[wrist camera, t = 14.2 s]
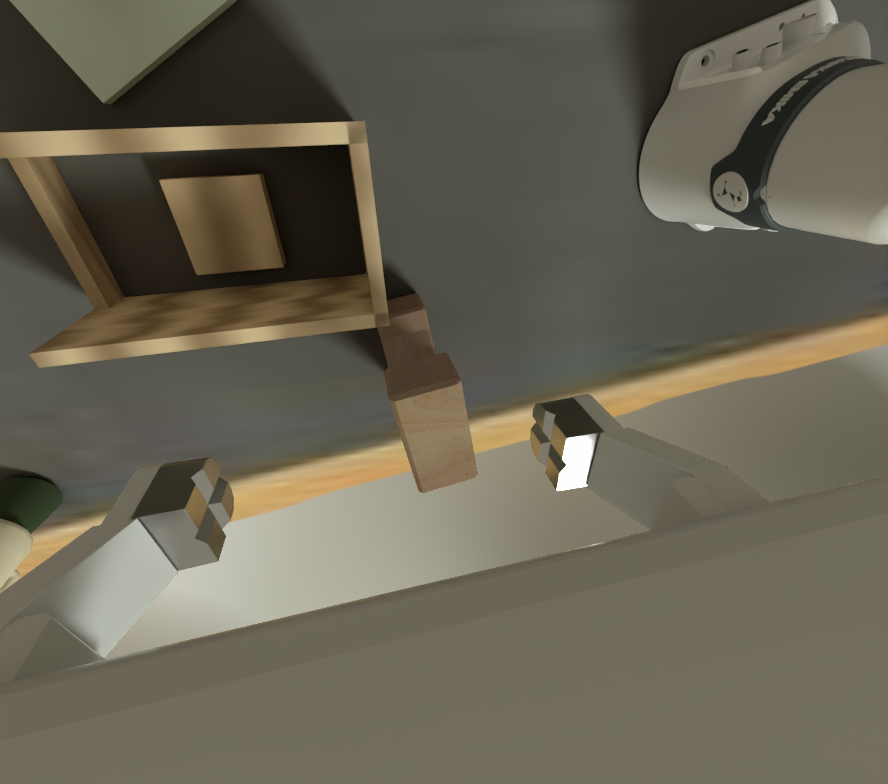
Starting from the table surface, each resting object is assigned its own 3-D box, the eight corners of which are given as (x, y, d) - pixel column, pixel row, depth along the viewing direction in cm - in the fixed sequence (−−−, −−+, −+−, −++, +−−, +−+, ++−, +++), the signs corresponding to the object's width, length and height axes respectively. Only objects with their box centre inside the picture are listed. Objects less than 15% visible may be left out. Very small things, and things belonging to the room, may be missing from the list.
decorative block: (371, 302, 43) (388, 397, 27) (419, 290, 44) (464, 378, 28) (393, 381, 50) (417, 497, 33) (435, 370, 50) (479, 480, 34)
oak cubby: (358, 127, 34) (364, 121, 25) (379, 283, 42) (389, 325, 33) (24, 138, 30) (-130, 136, 20) (117, 310, 38) (39, 367, 28)
